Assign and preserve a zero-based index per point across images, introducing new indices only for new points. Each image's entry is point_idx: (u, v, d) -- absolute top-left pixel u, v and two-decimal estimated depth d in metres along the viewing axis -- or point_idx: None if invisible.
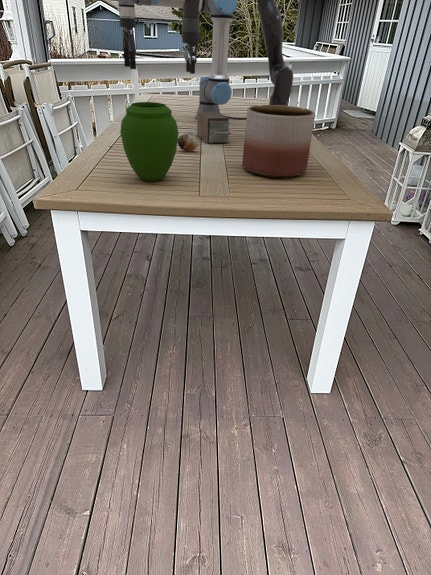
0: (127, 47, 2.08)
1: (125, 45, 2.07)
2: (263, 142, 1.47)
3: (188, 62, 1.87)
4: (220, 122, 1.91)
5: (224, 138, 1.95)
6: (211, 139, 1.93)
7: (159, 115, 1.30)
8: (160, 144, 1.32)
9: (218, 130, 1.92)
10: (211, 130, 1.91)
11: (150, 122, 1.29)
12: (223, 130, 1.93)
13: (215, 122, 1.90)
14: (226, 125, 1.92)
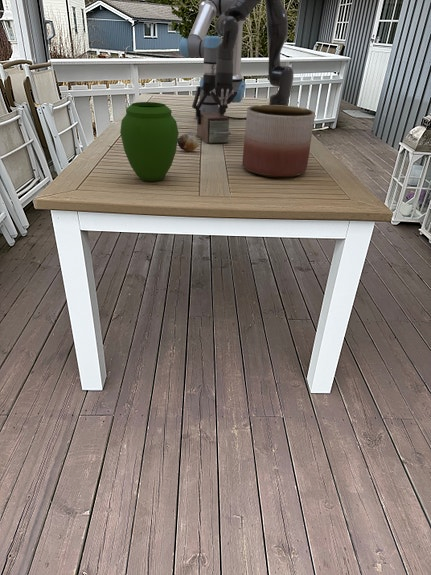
0: None
1: None
2: (263, 142, 1.47)
3: None
4: (220, 122, 1.91)
5: (224, 138, 1.95)
6: (211, 139, 1.93)
7: (159, 115, 1.30)
8: (160, 144, 1.32)
9: (218, 130, 1.92)
10: (211, 130, 1.91)
11: (150, 122, 1.29)
12: (223, 130, 1.93)
13: (215, 122, 1.90)
14: (226, 125, 1.92)
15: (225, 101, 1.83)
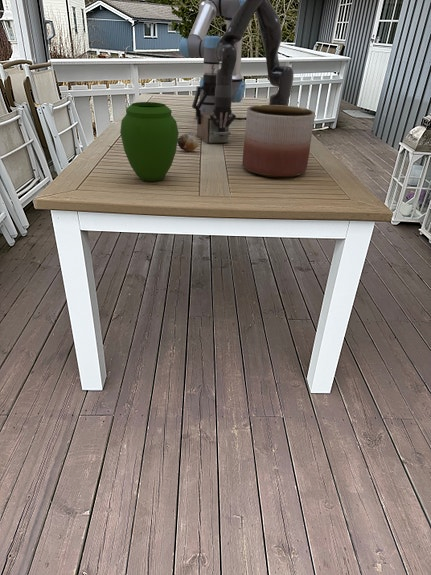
0: None
1: None
2: (263, 142, 1.47)
3: None
4: None
5: (224, 138, 1.95)
6: (211, 139, 1.93)
7: (159, 115, 1.30)
8: (160, 144, 1.32)
9: None
10: (211, 130, 1.91)
11: (150, 122, 1.29)
12: None
13: None
14: None
15: (224, 124, 1.88)
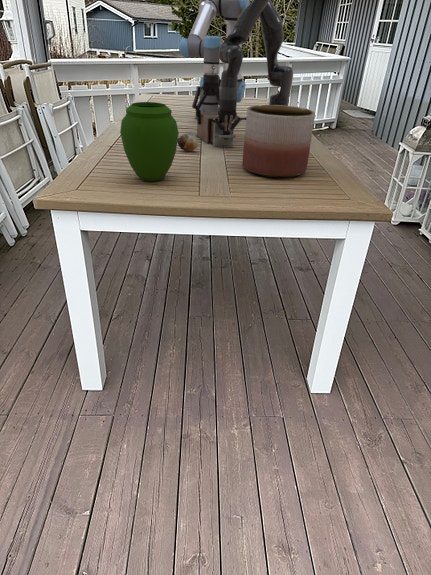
0: None
1: None
2: (263, 142, 1.47)
3: None
4: None
5: (229, 141, 1.90)
6: (215, 142, 1.88)
7: (159, 115, 1.30)
8: (160, 144, 1.32)
9: (222, 133, 1.87)
10: (215, 133, 1.86)
11: (150, 122, 1.29)
12: None
13: None
14: None
15: (229, 127, 1.82)
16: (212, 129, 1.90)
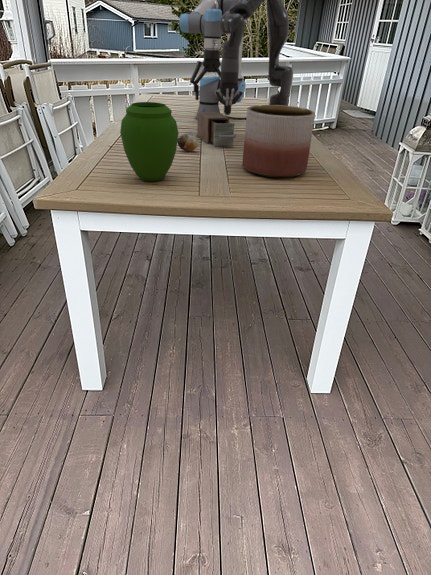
0: None
1: None
2: (263, 142, 1.47)
3: None
4: (225, 125, 1.86)
5: (229, 141, 1.90)
6: (215, 142, 1.88)
7: (159, 115, 1.30)
8: (160, 144, 1.32)
9: (222, 133, 1.87)
10: (216, 133, 1.86)
11: (150, 122, 1.29)
12: (228, 133, 1.88)
13: (220, 125, 1.85)
14: (231, 128, 1.87)
15: (230, 101, 1.77)
16: (212, 129, 1.90)
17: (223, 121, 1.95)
